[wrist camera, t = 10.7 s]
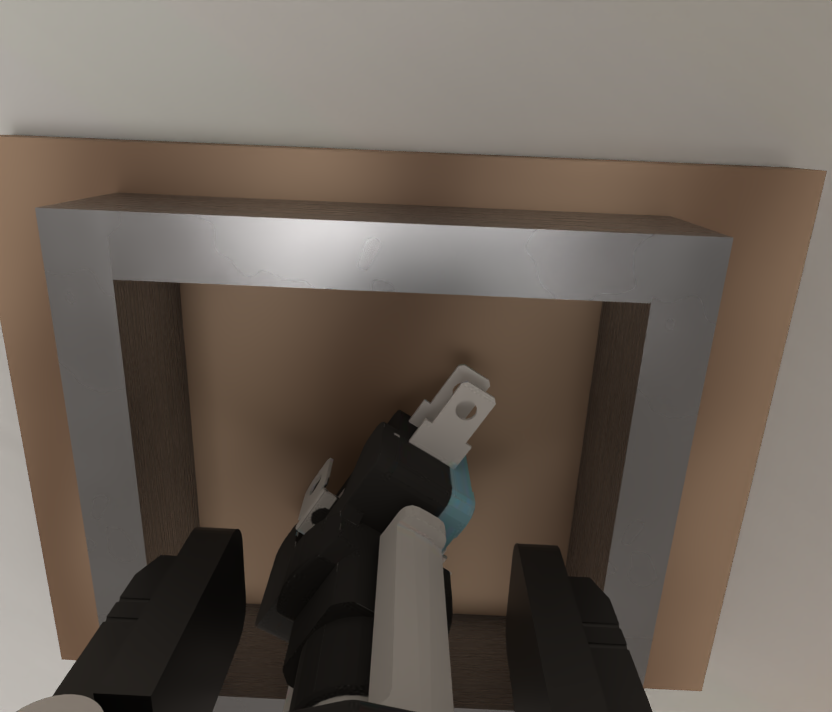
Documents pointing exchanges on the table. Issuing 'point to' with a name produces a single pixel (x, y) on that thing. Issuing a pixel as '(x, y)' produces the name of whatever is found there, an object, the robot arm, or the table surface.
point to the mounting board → (411, 360)
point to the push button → (379, 565)
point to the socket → (388, 272)
